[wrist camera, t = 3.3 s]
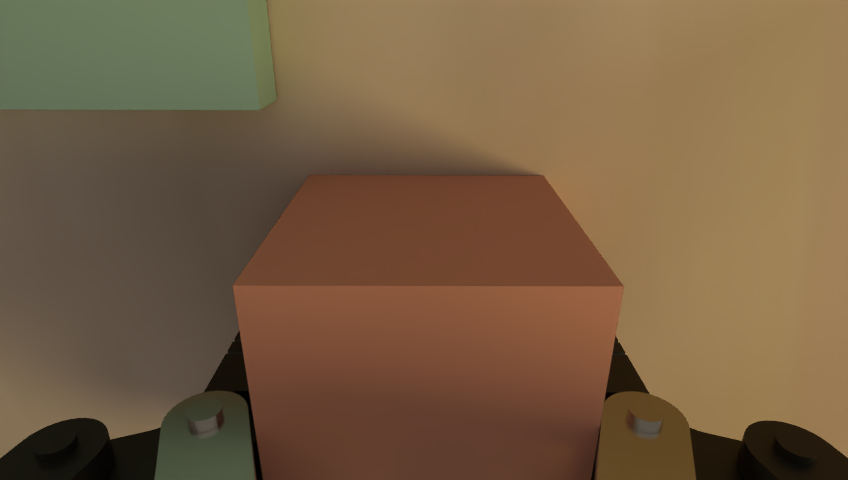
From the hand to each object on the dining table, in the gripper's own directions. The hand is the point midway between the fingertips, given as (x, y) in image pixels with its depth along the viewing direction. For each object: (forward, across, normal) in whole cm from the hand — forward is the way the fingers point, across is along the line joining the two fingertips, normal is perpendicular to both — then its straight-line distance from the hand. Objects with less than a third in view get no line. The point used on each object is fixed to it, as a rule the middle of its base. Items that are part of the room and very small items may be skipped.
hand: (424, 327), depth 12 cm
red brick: (+1, 0, 0) cm, 1 cm away
